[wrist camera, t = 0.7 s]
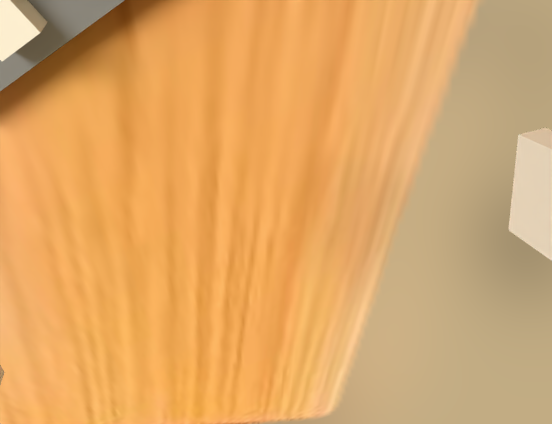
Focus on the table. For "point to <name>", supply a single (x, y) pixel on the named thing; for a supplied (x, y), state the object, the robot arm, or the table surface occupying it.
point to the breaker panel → (53, 33)
